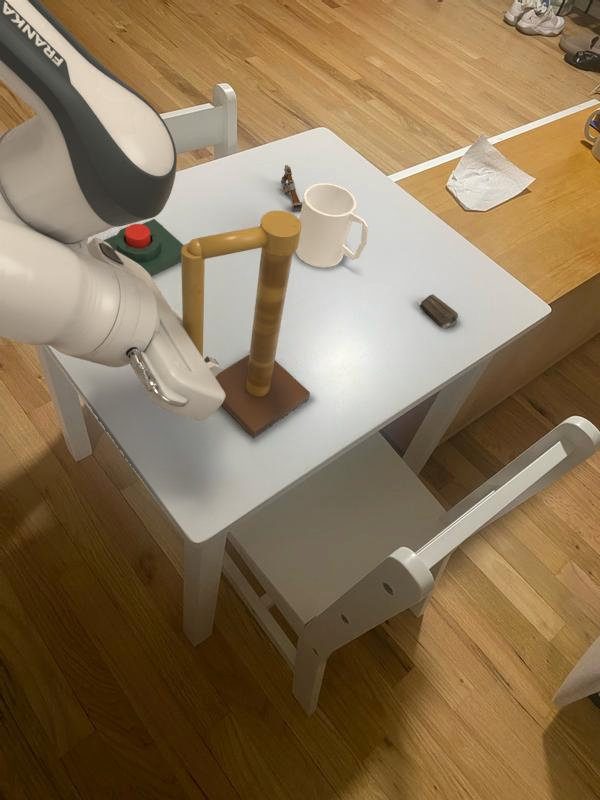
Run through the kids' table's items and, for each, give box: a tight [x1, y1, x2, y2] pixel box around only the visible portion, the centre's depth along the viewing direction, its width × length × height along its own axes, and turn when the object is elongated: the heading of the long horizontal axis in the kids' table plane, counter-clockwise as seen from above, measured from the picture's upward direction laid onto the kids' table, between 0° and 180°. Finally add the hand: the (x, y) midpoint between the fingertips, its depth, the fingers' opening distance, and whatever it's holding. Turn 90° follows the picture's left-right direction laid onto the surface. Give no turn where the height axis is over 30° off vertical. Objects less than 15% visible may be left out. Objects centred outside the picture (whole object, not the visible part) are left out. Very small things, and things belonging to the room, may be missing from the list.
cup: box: [295, 182, 369, 268], centre depth 95 cm, size 8×12×10 cm
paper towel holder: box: [215, 248, 311, 439], centre depth 71 cm, size 10×10×26 cm
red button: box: [125, 223, 151, 248], centre depth 90 cm, size 4×4×2 cm
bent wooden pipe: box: [180, 210, 301, 358], centre depth 64 cm, size 12×4×18 cm, turn 116°
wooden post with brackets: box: [280, 164, 303, 211], centre depth 106 cm, size 2×8×4 cm, turn 21°
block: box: [419, 293, 459, 329], centre depth 94 cm, size 4×6×2 cm, turn 46°
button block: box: [102, 218, 185, 277], centre depth 92 cm, size 12×9×4 cm
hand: (203, 351), depth 67 cm, fingers open, 4 cm apart
